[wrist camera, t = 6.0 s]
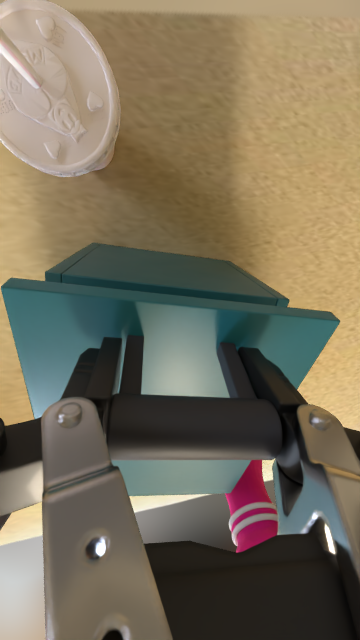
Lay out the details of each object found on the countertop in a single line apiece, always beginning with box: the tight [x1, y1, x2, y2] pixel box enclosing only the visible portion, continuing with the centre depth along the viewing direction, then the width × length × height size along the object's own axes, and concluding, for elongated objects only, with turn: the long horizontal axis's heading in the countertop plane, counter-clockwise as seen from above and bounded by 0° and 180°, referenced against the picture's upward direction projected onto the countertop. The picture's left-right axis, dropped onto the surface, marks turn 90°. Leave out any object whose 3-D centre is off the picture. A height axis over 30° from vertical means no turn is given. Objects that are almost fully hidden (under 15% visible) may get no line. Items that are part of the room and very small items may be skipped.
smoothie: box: [0, 0, 121, 177], centre depth 14 cm, size 6×6×14 cm
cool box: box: [45, 243, 289, 307], centre depth 22 cm, size 17×14×12 cm
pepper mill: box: [225, 460, 278, 553], centre depth 25 cm, size 7×7×20 cm
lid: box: [1, 278, 340, 496], centre depth 13 cm, size 17×14×6 cm
